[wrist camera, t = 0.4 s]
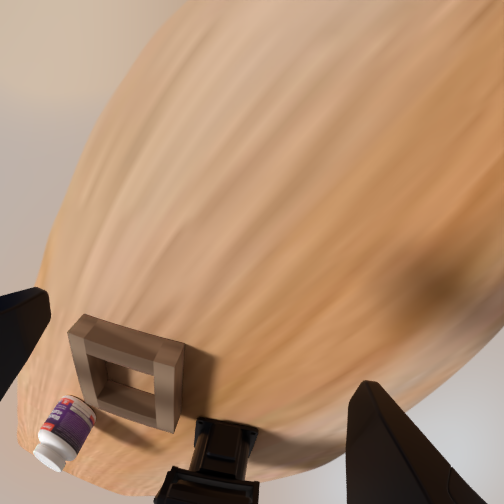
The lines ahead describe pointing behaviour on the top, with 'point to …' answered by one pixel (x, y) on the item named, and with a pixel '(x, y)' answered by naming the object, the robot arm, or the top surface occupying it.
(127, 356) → the socket
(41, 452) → the pill bottle
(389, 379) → the top surface
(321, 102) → the top surface
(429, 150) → the top surface
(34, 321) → the robot arm
